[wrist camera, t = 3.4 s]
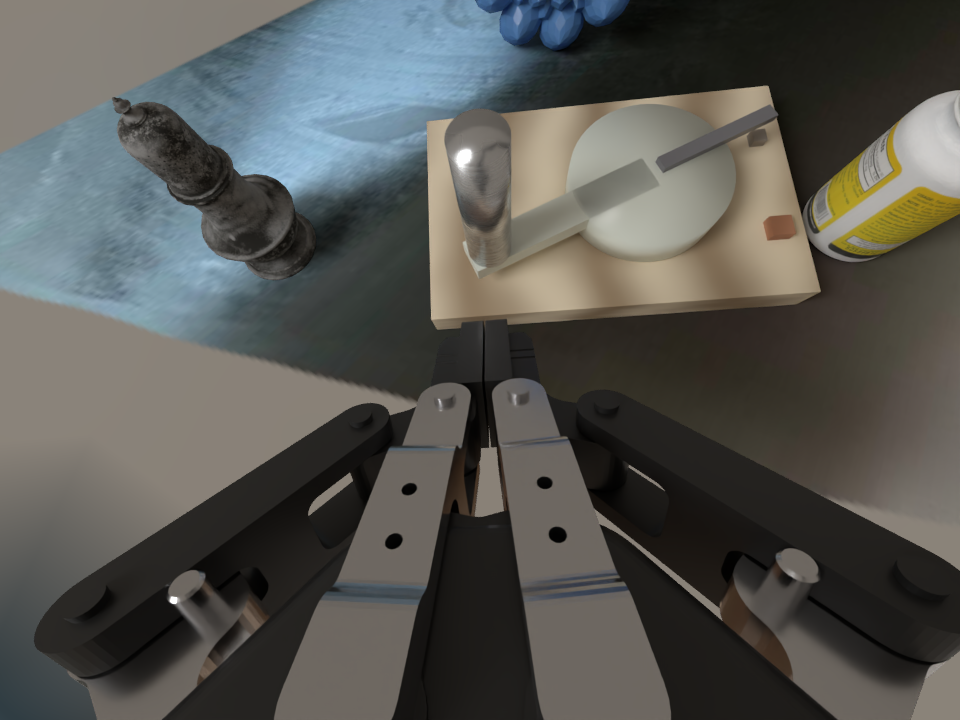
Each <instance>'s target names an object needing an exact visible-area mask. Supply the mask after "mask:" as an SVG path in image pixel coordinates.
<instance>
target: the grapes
mask: <svg viewBox="0 0 960 720" xmlns="http://www.w3.org/2000/svg"><path fill="white" fill-rule="evenodd" d="M475 1H476V3H477V5H478V7H480V8H481V9H483V10H484V11H486V12H488V13H494V12H498V11H502V10H503V11H502V14H501V16H500V33H501V34H502V36H503V38H504V40H505V41H507V42H509V43H511V44H513V45H514V46H515V45H521V44H524V43H527V42H528V41H530V40H531V39H532V38H533V37H534V36H535V34H536V32H537V30H538V28H539V26H540V38H541V40H542V42H543V44H544V45H545V46H546V47H548V48H550V49H552V50H553V51H555V50H561V49H564V48H567V47H568V46H569V45H570V44H571V43H573V42H574V41H575V40H576V38H577V37H578V35H579V33H580V31H581V29H582V27H583V22H584V18H585V20H586V21H587V22H588V23H589V24H591V25H593V26H595V27H599V26H604V25H608V24H611V23H612V22H613V21H614V20H615V19H616V18H618V17H619V16H620V15H621V14H622V13H623V11H624V10H625V8H626V6H627V4H628V3H629V1H630V0H475Z"/></svg>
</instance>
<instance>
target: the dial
mask: <svg viewBox="0 0 960 720" xmlns="http://www.w3.org/2000/svg"><path fill="white" fill-rule="evenodd" d="M777 116H778V113H777V112H776V111H775V110H774V108H773V107H772V106H771V105H770V104H769V105H767V106H765V107H763V108H761V109H759V110H757V111H755V112H752V113H750V114H748V115H746V116H744V117H742V118H740V119H738V120H735V121H733V122H731V123H729V124H727V125H725V126H723V127H721V128H718V129H716V130H715V129H714V128H713V127H712V126H711V125H710V124H709V123H707V122H706V121H704V120H703V119H701V118H700V117H698V116H696V115H694V114H692V113H690V112H688V111H685V110H683V109H680V108H676V107H673V106H667V105H661V104H639V105H633V106H628V107H624V108H620V109H618V110H615V111H613V112H610V113H609V114H607V115H605V116H603V117H601V118H600V119H598V120H597V121H596V122H594V123H593V124H592V125H591V126H590V127H589V128H588V129H587V130H586V131H585V132H584V133H583V135H582V136H581V137H580V139H579V140H578V142H577V144H576V146H575V148H574V150H573V153H572V157H571V160H570V165H569V170H568V175H567V180H566V185H565V194H564V195H562V196H559V197H557V198H555V199H553V200H551V201H549V202H547V203H545V204H542V205H540V206H538V207H536V208H534V209H532V210H530V211H528V212H525V213H523V214H521V215H519V216H517V217H515V218H513V219H511V129H510V126H509V124H508V122H507V121H506V120H505V119H504V118H503V117H502V116H501V115H500V114H498V113H496V112H494V111H491V110H487V109H473V110H469V111H466V112H463V113H461V114H460V115H458V116H457V117H455V118H454V119H453V120H452V121H451V123H450V124H449V125H448V127H447V129H446V132H445V136H444V142H445V148H446V152H447V157H448V161H449V166H450V171H451V175H452V180H453V184H454V189H455V193H456V198H457V202H458V207H459V212H460V216H461V221H462V225H463V230H464V234H465V239H466V241H464V242H463V246H464V251H465V253H466V255H467V257H468V259H469V260H470V262H471V264H472V266H473V268H474V270H475V272H476V274H477V276H478V278H479V279H481V278H483V277H485V276H487V275H489V274H492V273H494V272H496V271H498V270H500V269H502V268H504V267H506V266H508V265H511V264H513V263H515V262H517V261H519V260H521V259H523V258H525V257H527V256H530V255H532V254H534V253H536V252H538V251H540V250H542V249H544V248H546V247H549V246H551V245H553V244H555V243H557V242H559V241H561V240H563V239H565V238H568V237H570V236H572V235H574V234H576V233H578V232H579V233H580V235H581V236H582V237H583V238H584V239H585V240H586V241H587V242H589V243H590V244H591V245H592V246H594V247H595V248H597V249H598V250H600V251H602V252H604V253H606V254H608V255H610V256H613V257H616V258H619V259H623V260H627V261H634V262H653V261H660V260H664V259H668V258H672V257H674V256H677V255H679V254H681V253H683V252H685V251H686V250H688V249H690V248H691V247H692V246H694V245H695V244H696V243H697V242H698V241H699V240H700V239H701V238H702V237H703V236H704V235H705V234H706V233H707V232H708V231H709V230H710V229H711V227H712V226H713V225H714V224H715V223H716V222H717V221H718V220H719V218H720V217H721V216H722V215H723V213H724V212H725V211H726V209H727V207H728V206H729V204H730V202H731V200H732V197H733V194H734V190H735V185H736V169H735V163H734V160H733V156H732V153H731V151H730V149H729V147H728V145H727V144H726V143H728V142H730V141H732V140H734V139H736V138H738V137H740V136H742V135H745V134H747V133H749V132H751V131H753V130H755V129H757V128H759V127H762V126H764V125H766V124H768V123H770V122H772V121H774V120H775V119H776V117H777Z"/></svg>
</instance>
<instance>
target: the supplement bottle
mask: <svg viewBox="0 0 960 720" xmlns="http://www.w3.org/2000/svg"><path fill="white" fill-rule="evenodd" d="M958 214H960V90H957V91H951V92H946V93H943V94H939V95H937V96H934V97H932V98H930V99H928V100H926V101H924V102H923V103H921V104H920V105H918V106H917V107H916V108H914V109H913V110H912V111H910V112H909V113H908V114H907V115H905V116H904V117H903V118H902V119H901V120H899V121H898V122H897V123H896V124H895V125H894V126H893V127H891V128H890V129H889V130H888V131H887V132H886V133H884V134H883V135H882V136H881V137H880V138H878V139H877V140H876V141H875V142H874V143H873V144H871V145H870V146H869V147H868V148H867V149H866V150H864V151H863V152H862V153H861V154H860V155H859V156H857V157H856V158H855V159H854V160H853V161H852V162H851V163H849V164H848V165H847V166H846V167H845V168H843V169H842V170H841V171H840V172H839V173H838V174H836V175H835V176H834V177H833V178H832V179H831V180H830V181H828V182H827V183H826V184H825V185H824V186H823V187H822V188H820V189H819V190H818V191H817V192H816V193H815V194H814V195H813V196H812V197H811V198H810V199H809V201H808V202H807V204H806V206H805V208H804V211H803V215H802V220H803V224H804V228H805V231H806V235H807V237H808V239H809V240H810V241H811V243H812V244H813V245H814V246H815V247H816V248H817V249H819V250H820V251H821V252H823V253H824V254H826V255H828V256H830V257H832V258H835V259H838V260H841V261H846V262H862V261H868V260H871V259H874V258H877V257H879V256H881V255H883V254H885V253H887V252H889V251H891V250H893V249H895V248H896V247H898V246H900V245H902V244H904V243H906V242H908V241H910V240H911V239H913V238H915V237H917V236H919V235H921V234H923V233H925V232H926V231H928V230H930V229H932V228H934V227H936V226H938V225H939V224H941V223H943V222H945V221H947V220H949V219H951V218H953V217H954V216H956V215H958Z"/></svg>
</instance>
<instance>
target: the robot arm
mask: <svg viewBox="0 0 960 720" xmlns="http://www.w3.org/2000/svg"><path fill="white" fill-rule="evenodd" d="M489 430H490V439H491V447H497V455H498V467H499V476H500V484H501V491H502V499H503V507H504V511H503V512H499V513H495V514H492V515H488V516H484V517H475V509H476V501H477V492H478V484H479V475H480V465H479V461H480V457H481V448H489ZM629 465H631V466H632V467H634V468H635V469H637V470H639V471H640V472H642V473H643V474H645V475H646V476H648V477H649V478H651V479H652V480H654V481H655V482H657V483H658V484H659V485H660V486H661V487H662V488H663V489H664V490H665V491H664V490H662V489H660V488H659V487H657V486H656V485H654V484H653V483H651V482H650V481H648V480H647V479H645V478H644V477H642V476H641V475H639V474H637V473H636V472H635V471H633V470H632V469H630V468H628V466H629ZM348 473H351V476H352V479H353V482H351V483H350V484H349V485H348V486H346V487H345V488H344V489H343V490H341V491H340V492H339V493H337V494H336V495H335V496H334V497H332V498H331V499H330V500H329V501H327V502H326V503H325V504H324V505H322V506H321V507H320V508H318V509H317V510H316V511H315V512H313V513H312V514H311V515H310V516H308V511H309V508H310V506H311V504H312V502H313V501H314V500H315V499H316V498H317V497H318V496H319V495H321V494H322V493H323V492H325V491H326V490H327V489H328V488H330V487H331V486H332V485H334V484H335V483H336V482H338V481H339V480H340V479H342V478H343V477H344V476H346V475H347V474H348ZM594 509H595V510H597V511H598V512H599V513H601V514H602V515H603V516H604V517H606V518H607V519H608V520H609V521H611V522H612V523H613V524H614V525H616V526H617V527H618V528H620V529H621V530H622V531H623V532H624V533H626V534H627V535H628V536H629V537H631V538H632V539H633V540H634V541H636V542H637V543H638V544H640V545H641V546H642V547H643V548H645V549H646V550H647V551H649V552H650V553H651V554H652V555H653V556H655V557H656V558H657V559H658V560H660V561H661V562H662V563H663V564H665V565H666V566H667V567H669V568H670V569H671V570H672V571H673V572H675V573H676V574H677V575H679V576H680V577H681V578H682V579H683V580H685V581H686V582H687V583H689V584H690V585H691V586H692V587H694V588H695V589H696V590H697V591H699V592H700V593H701V594H702V595H704V596H705V597H706V598H707V599H709V600H710V601H711V602H713V603H714V604H715V605H716V606H718V607H719V608H720V614H721V618H722V620H721V619H719V618H718V617H717V616H716V615H714V614H713V613H712V612H711V611H710V610H709V609H708V608H706V607H705V606H704V605H703V604H702V603H701V602H700V601H698V600H697V599H696V598H695V597H694V596H692V595H691V594H690V593H689V592H688V591H687V590H685V589H684V588H683V587H682V586H681V585H680V584H678V583H677V582H676V581H675V580H674V579H673V578H671V577H670V576H669V575H668V574H667V573H666V572H664V571H663V570H662V569H661V568H660V567H658V566H657V565H656V564H655V563H654V562H653V561H651V560H650V559H649V558H648V557H647V556H646V555H645V554H643V553H642V552H641V551H640V550H639V549H637V548H636V547H635V546H634V545H632V543H630V542H629V541H628V540H626V539H625V538H623V537H622V536H621V535H619V534H618V533H616V532H614V531H612V530H610V529H608V528H607V527H605V526H602V525H600V524H599V522H598V519H597V516H596V513H595V511H594ZM34 643H35V646H36V648H37V649H38V650H39V651H40V652H42V653H43V654H45V655H46V656H48V657H49V658H51V659H52V660H54V661H55V662H56V663H58V664H59V665H61V666H62V667H64V668H65V669H67V672H68V674H69V675H70V676H71V677H72V678H73V679H75V680H76V681H78V682H79V683H81V684H82V685H84V686H85V687H87V688H88V689H89V693H90V696H91V699H92V703H93V706H94V709H95V713H96V716H97V720H911V717H912V715H913V712H914V709H915V706H916V703H917V700H918V697H919V694H920V691H921V689H922V686H923V683H924V680H925V679H927V678H928V677H929V676H930V675H931V674H933V673H934V672H935V671H936V670H937V669H939V668H940V667H941V666H942V665H943V664H944V663H946V662H947V661H948V660H949V659H950V658H951V657H953V656H954V655H955V654H956V653H957V652H959V651H960V571H959V570H958V569H956V568H955V567H954V566H953V565H951V564H950V563H948V562H947V561H945V560H944V559H942V558H940V557H939V556H937V555H935V554H933V553H932V552H930V551H928V550H926V549H924V548H922V547H920V546H918V545H916V544H914V543H912V542H910V541H908V540H906V539H904V538H902V537H900V536H898V535H896V534H895V533H893V532H891V531H889V530H887V529H885V528H883V527H881V526H879V525H877V524H875V523H873V522H871V521H869V520H867V519H865V518H863V517H861V516H859V515H857V514H855V513H854V512H852V511H850V510H848V509H846V508H844V507H842V506H840V505H838V504H836V503H834V502H832V501H830V500H828V499H826V498H824V497H822V496H820V495H818V494H816V493H815V492H813V491H811V490H809V489H807V488H805V487H803V486H801V485H799V484H797V483H795V482H793V481H791V480H789V479H787V478H785V477H783V476H781V475H779V474H777V473H776V472H774V471H772V470H770V469H768V468H766V467H764V466H762V465H760V464H758V463H756V462H754V461H752V460H750V459H748V458H746V457H744V456H742V455H740V454H738V453H737V452H735V451H733V450H731V449H729V448H727V447H725V446H723V445H721V444H719V443H717V442H715V441H713V440H711V439H709V438H707V437H705V436H703V435H701V434H699V433H698V432H696V431H694V430H692V429H690V428H688V427H686V426H684V425H682V424H680V423H678V422H676V421H674V420H672V419H670V418H668V417H666V416H664V415H662V414H660V413H659V412H657V411H655V410H653V409H651V408H649V407H647V406H645V405H643V404H641V403H639V402H637V401H635V400H633V399H631V398H629V397H627V396H625V395H623V394H621V393H618V392H615V391H610V390H595V391H590V392H588V393H586V394H584V395H582V396H581V397H580V398H579V400H578V402H577V403H572V402H566V401H561V400H558V399H555V398H553V397H551V396H549V395H548V394H547V393H546V392H545V390H544V388H543V387H542V385H541V384H540V379H539V374H538V369H537V364H536V359H535V354H534V348H533V343H532V339H531V338H529V337H528V336H527V335H526V334H525V333H524V332H521V333H508V325H507V319H498V320H485V329H484V321H471V322H462V323H461V332H460V337H450V338H446V339H445V340H444V341H443V342H442V344H441V345H440V346H439V349H438V354H437V359H436V364H435V368H434V373H433V378H432V383H431V387H430V388H428V389H427V390H425V391H424V392H423V393H422V394H421V395H420V397H419V400H418V403H417V406H416V407H415V408H412V409H410V410H407V411H404V412H401V413H397V414H393V415H389V412H388V410H387V409H386V408H385V407H384V406H382V405H380V404H375V403H367V404H361V405H357V406H354V407H352V408H350V409H348V410H346V411H344V412H343V413H341V414H340V415H338V416H337V417H335V418H333V419H332V420H330V421H329V422H328V423H326V424H324V425H323V426H321V427H319V428H318V429H317V430H315V431H313V432H312V433H310V434H309V435H307V436H305V437H304V438H302V439H301V440H299V441H298V442H296V443H295V444H293V445H291V446H290V447H289V448H287V449H285V450H284V451H282V452H281V453H279V454H277V455H276V456H275V457H273V458H271V459H270V460H268V461H267V462H265V463H264V464H262V465H260V466H259V467H257V468H256V469H254V470H253V471H251V472H249V473H248V474H246V475H245V476H243V477H242V478H241V479H239V480H237V481H236V482H234V483H232V484H231V485H229V486H228V487H226V488H225V489H223V490H221V491H220V492H218V493H217V494H215V495H214V496H212V497H211V498H209V499H208V500H206V501H204V502H203V503H201V504H200V505H198V506H197V507H195V508H193V509H192V510H190V511H189V512H187V513H186V514H184V515H183V516H181V517H179V518H178V519H176V520H175V521H173V522H172V523H170V524H169V525H167V526H165V527H164V528H162V529H161V530H160V531H158V532H156V533H155V534H153V535H152V536H150V537H148V538H147V539H145V540H144V541H142V542H141V543H139V544H138V545H136V546H135V547H133V548H131V549H130V550H128V551H127V552H125V553H123V554H122V555H120V556H119V557H117V558H116V559H114V560H113V561H111V562H109V563H108V564H107V565H105V566H103V567H102V568H100V569H99V570H97V571H96V572H94V573H92V574H91V575H89V576H88V577H86V578H85V579H83V580H82V581H80V582H79V583H77V584H76V585H74V586H73V587H72V588H70V589H69V590H68V591H67V592H65V593H64V594H63V595H62V596H61V597H60V598H59V599H58V600H57V601H56V602H55V603H54V604H53V605H52V606H51V607H50V608H49V610H48V611H47V612H46V613H45V615H44V616H43V618H42V620H41V621H40V623H39V625H38V627H37V629H36V632H35V636H34Z"/></svg>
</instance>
